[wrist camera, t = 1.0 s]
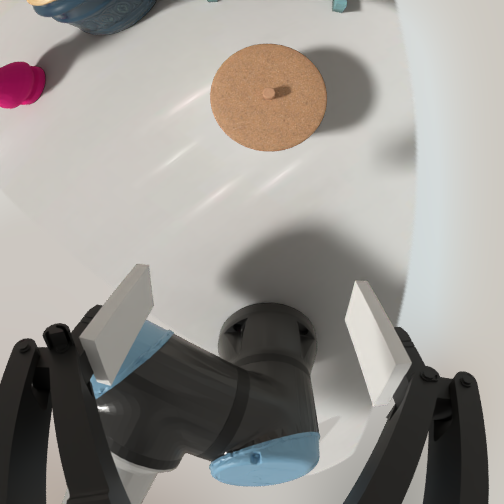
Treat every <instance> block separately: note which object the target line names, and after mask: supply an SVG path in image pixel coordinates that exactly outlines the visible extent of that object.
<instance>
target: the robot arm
mask: <svg viewBox="0 0 504 504" xmlns="http://www.w3.org/2000/svg"><path fill="white" fill-rule="evenodd" d="M153 306H154V303H153V295H152V287H151V279H150V270H149V265H143V264H136V266H135V267H134V268H133V269H132V270H131V272H130V273H129V274H128V275H127V276H126V278H125V279H124V280H123V281H122V282H121V284H120V285H119V286H118V287H117V289H116V290H115V291H114V292H113V294H112V295H111V296H110V297H109V299H108V300H107V301H106V303H105V304H104V305H103V306H102V305H96V306H94V307H93V308H91V309H90V310H89V311H88V312H87V313H86V315H85V316H84V317H83V318H82V320H81V321H80V322H79V323H78V325H77V326H76V327H75V328H74V330H73V331H72V332H70V329H69V327H68V326H67V325H66V324H61V323H59V324H54V325H51V326H50V327H48V328H46V330H45V331H44V333H43V338H44V340H45V342H46V344H47V347H46V348H45V347H37V345H36V343H35V341H34V340H32V339H29V338H27V339H23V340H20V341H19V342H17V343H16V344H15V346H14V348H13V350H12V353H11V355H10V358H9V360H8V363H7V366H6V369H5V371H4V374H3V377H2V380H1V383H0V504H46V463H47V448H48V437H49V428H50V420H51V412H52V409H53V417H54V424H55V430H56V437H57V443H58V448H59V453H60V458H61V463H62V467H63V471H64V475H65V479H66V483H67V487H68V488H67V491H66V493H65V496H64V499H63V502H62V504H142V502H143V500H144V498H145V496H146V495H147V492H148V491H149V489H150V487H151V485H152V483H153V481H154V479H155V478H156V476H157V474H158V473H163V472H169V471H172V470H174V469H176V468H177V466H178V465H179V463H180V461H181V459H182V457H183V456H184V454H185V453H188V454H191V455H194V456H197V457H200V458H203V459H206V460H209V461H211V464H210V466H209V469H210V470H211V474H212V476H213V477H214V478H215V479H217V480H218V481H220V482H223V483H226V484H230V485H236V486H266V485H274V484H280V483H284V482H288V481H291V480H294V479H297V478H299V477H302V476H304V475H306V474H307V473H309V472H310V471H311V470H313V469H314V468H315V466H316V465H317V463H318V461H319V439H320V434H319V429H318V422H317V416H316V409H315V403H314V397H313V391H312V384H311V378H310V374H311V371H312V367H313V363H314V360H315V356H316V352H317V340H316V335H315V330H314V328H313V325H312V324H311V322H310V321H309V319H308V318H307V317H306V316H305V315H303V314H302V313H301V312H299V311H298V310H296V309H294V308H291V307H289V306H285V305H281V304H275V303H262V304H255V305H251V306H248V307H245V308H242V309H240V310H239V311H237V312H235V313H234V314H232V315H231V316H230V317H229V318H228V319H227V320H226V322H225V323H224V325H223V326H222V328H221V331H220V336H219V341H218V353H219V357H218V356H216V355H214V354H212V353H210V352H208V351H206V350H204V349H202V348H200V347H198V346H196V345H194V344H192V343H190V342H188V341H187V340H185V339H183V338H181V337H179V336H177V335H175V334H174V332H172V331H171V330H165V329H163V328H162V327H159V326H158V325H156V324H154V323H152V322H150V321H148V320H146V318H147V317H148V315H149V313H150V311H151V310H152V308H153ZM345 322H346V325H347V328H348V331H349V334H350V336H351V339H352V342H353V345H354V348H355V351H356V354H357V357H358V360H359V363H360V366H361V369H362V373H363V376H364V379H365V382H366V385H367V388H368V392H369V395H370V398H371V402H372V405H373V407H374V406H384V405H388V404H389V402H390V401H391V399H392V397H393V399H394V401H395V405H394V406H393V408H392V410H391V411H390V413H389V414H388V416H387V418H388V420H387V422H386V424H385V426H384V429H383V431H382V433H381V435H380V437H379V440H378V442H377V444H376V446H375V448H374V450H373V452H372V454H371V456H370V458H369V460H368V462H367V463H366V465H365V467H364V469H363V471H362V473H361V475H360V476H359V478H358V480H357V482H356V483H355V485H354V487H353V488H352V490H351V492H350V493H349V495H348V496H347V498H346V500H345V501H344V503H343V504H402V501H403V499H404V497H405V495H406V492H407V490H408V488H409V485H410V483H411V481H412V478H413V475H414V473H415V470H416V467H417V465H418V462H419V459H420V456H421V453H422V450H423V447H424V444H425V441H426V438H427V434H428V431H429V442H428V461H427V474H426V483H425V492H424V499H423V504H488V495H489V478H488V456H487V444H486V434H485V427H484V419H483V412H482V406H481V401H480V395H479V390H478V385H477V382H476V379H475V378H474V377H473V376H472V375H471V374H469V373H467V372H458V373H457V374H456V375H455V377H454V378H453V379H449V378H442V377H440V376H439V374H438V372H437V371H436V370H435V369H433V368H431V367H428V366H425V364H424V362H423V361H422V359H421V357H420V355H419V353H418V351H417V349H416V348H415V347H414V344H413V342H411V339H410V337H409V335H408V334H407V332H406V331H404V330H403V329H402V328H401V327H393V325H392V323H391V322H390V320H389V318H388V316H387V314H386V312H385V311H384V309H383V307H382V305H381V304H380V302H379V300H378V298H377V297H376V295H375V293H374V291H373V290H372V288H371V286H370V284H369V283H368V281H358V280H355V283H354V287H353V291H352V295H351V299H350V302H349V306H348V310H347V313H346V317H345Z"/></svg>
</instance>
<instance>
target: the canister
mask: <svg viewBox="0 0 504 504" xmlns="http://www.w3.org/2000/svg"><path fill="white" fill-rule="evenodd" d="M27 2H28V3H30V4H31V5H33V8H34V10H35V12H36V13H37V14H38V15H40V16H43V17H52V18H53V19H55V20H56V21H58V22H61V23H68V24H70V25H73V26H75V27H78V28H79V29H81V30H82V31H84V32H87V33H90V34H95V35H109V34H114V33H117V32H120V31H122V30H125V29H127V28H128V27H130V26H132V25H133V24H135V23H136V22H138V21H139V20H140V19H141V18H142V17H144V16H145V15H146V14H147V13H148V12H149V10H150V9H151V8H152V7H153V5H154V4H155V2H156V0H27Z"/></svg>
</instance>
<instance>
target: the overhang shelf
mask: <svg viewBox="0 0 504 504" xmlns="http://www.w3.org/2000/svg"><path fill="white" fill-rule="evenodd" d="M207 1H208V2H218V0H207ZM346 6H347V0H333V4H332V11H335V12H340V13H342V12H343V11H344V9H345V8H346Z"/></svg>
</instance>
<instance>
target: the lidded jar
mask: <svg viewBox="0 0 504 504" xmlns="http://www.w3.org/2000/svg"><path fill="white" fill-rule="evenodd" d="M210 101H211V107H212V111H213V114H214V117H215V119H216V121H217V123H218V124H219V126H220V127H221V128H222V130H223V131H224V132H225V133H226V134H227V135H228V136H229V137H230V138H231V139H233V140H234V141H236V142H237V143H239V144H241V145H243V146H245V147H248V148H251V149H254V150H259V151H280V150H285V149H288V148H292V147H294V146H296V145H298V144H300V143H302V142H303V141H305V140H306V139H307V138H309V137H310V136H311V135H312V134H313V133H314V132H315V130H316V129H317V128H318V126H319V125H320V123H321V121H322V119H323V117H324V114H325V111H326V105H327V92H326V87H325V83H324V81H323V78H322V76H321V74H320V72H319V71H318V69H317V68H316V67H315V65H314V64H313V63H312V62H311V61H310V60H309V59H308V58H307V57H306V56H304V55H303V54H301V53H300V52H298V51H296V50H294V49H292V48H289V47H286V46H282V45H277V44H258V45H253V46H250V47H246V48H244V49H242V50H240V51H238V52H236V53H234V54H233V55H232V56H230V57H229V58H228V59H227V60H226V61H225V62H224V63H223V64H222V65H221V67H220V68H219V69H218V71H217V73H216V75H215V77H214V79H213V82H212V86H211V93H210Z"/></svg>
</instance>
